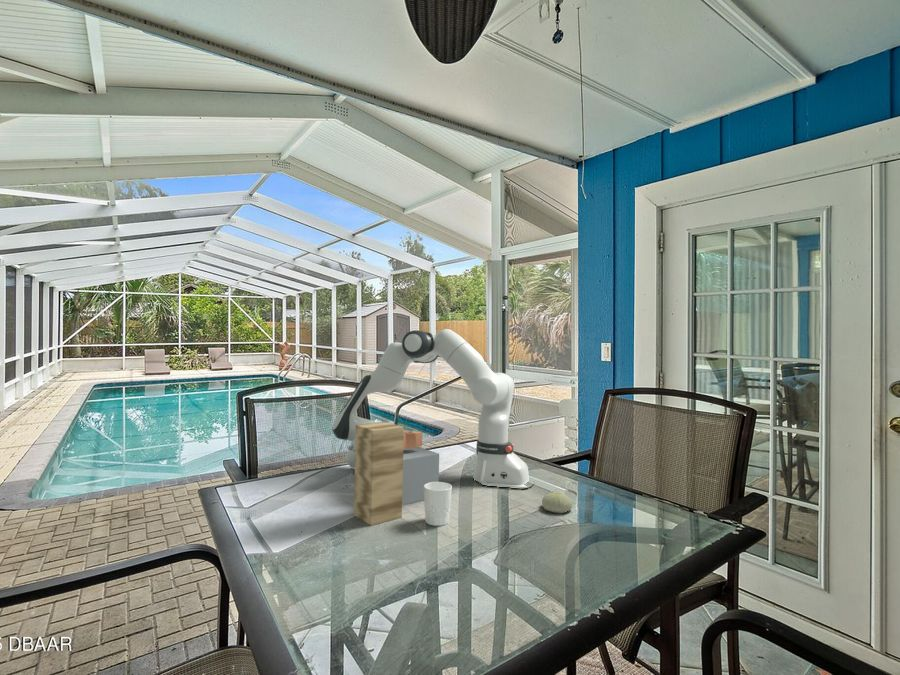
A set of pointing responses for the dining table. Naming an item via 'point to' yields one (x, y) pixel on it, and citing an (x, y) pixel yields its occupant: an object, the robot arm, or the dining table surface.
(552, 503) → the sea urchin shell
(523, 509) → the dining table surface
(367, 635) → the dining table surface
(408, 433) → the terracotta notched block
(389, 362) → the robot arm
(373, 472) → the pedestal
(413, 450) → the low block
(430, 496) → the white cup
